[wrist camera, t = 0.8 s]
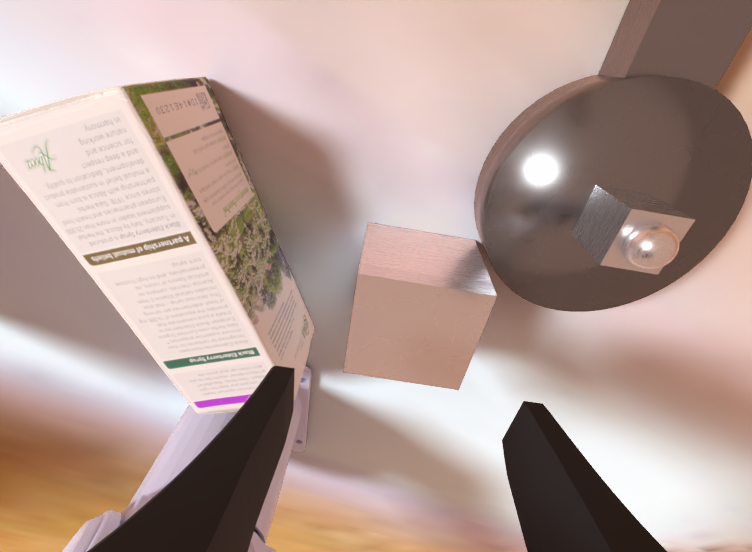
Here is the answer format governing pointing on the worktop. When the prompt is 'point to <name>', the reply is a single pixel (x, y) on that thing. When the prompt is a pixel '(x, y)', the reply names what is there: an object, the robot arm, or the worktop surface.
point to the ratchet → (623, 164)
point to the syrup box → (167, 231)
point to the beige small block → (417, 307)
